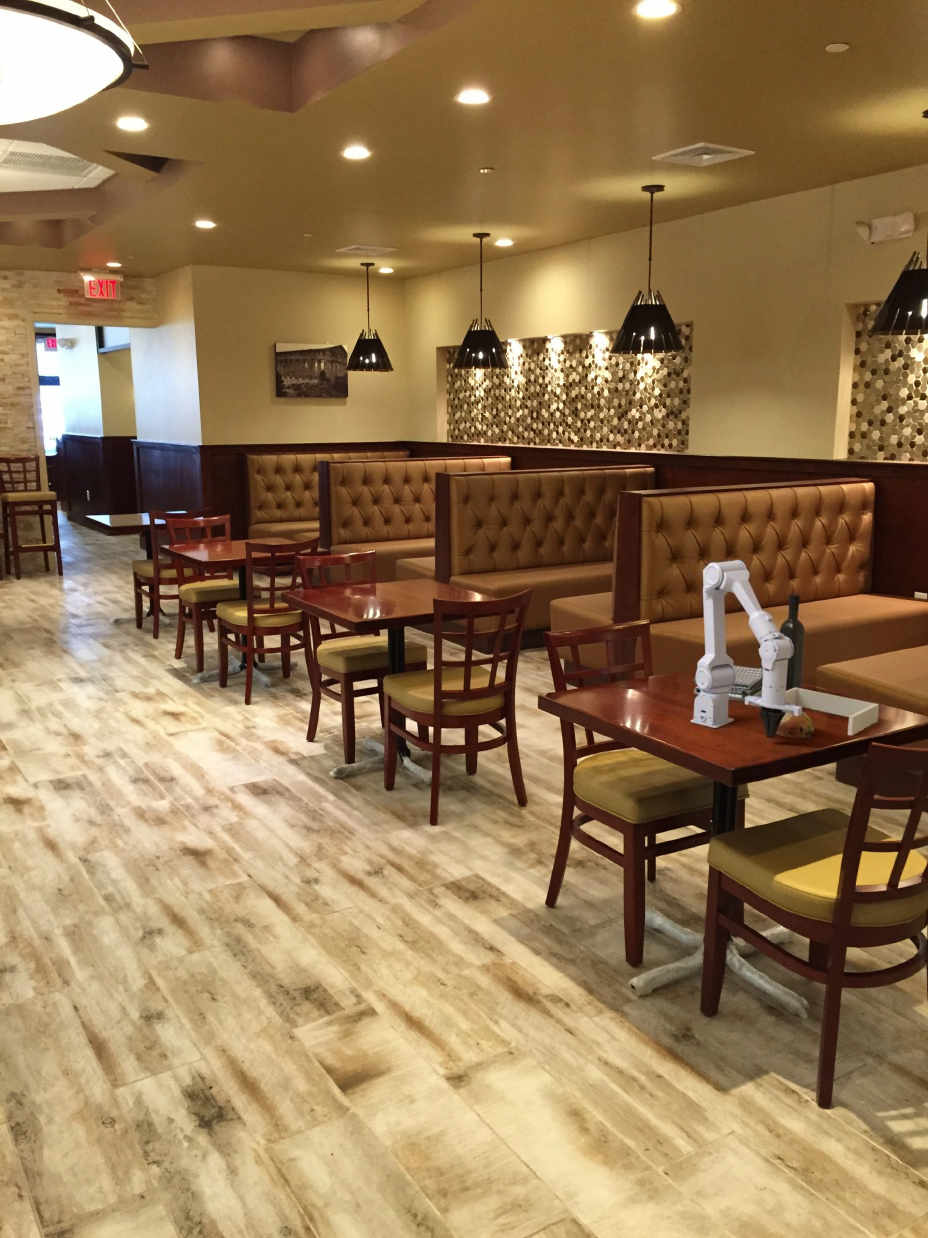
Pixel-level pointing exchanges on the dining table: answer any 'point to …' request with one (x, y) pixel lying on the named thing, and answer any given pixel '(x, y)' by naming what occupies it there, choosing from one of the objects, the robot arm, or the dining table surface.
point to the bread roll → (796, 726)
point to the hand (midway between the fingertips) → (771, 737)
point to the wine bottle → (794, 643)
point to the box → (836, 707)
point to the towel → (744, 683)
